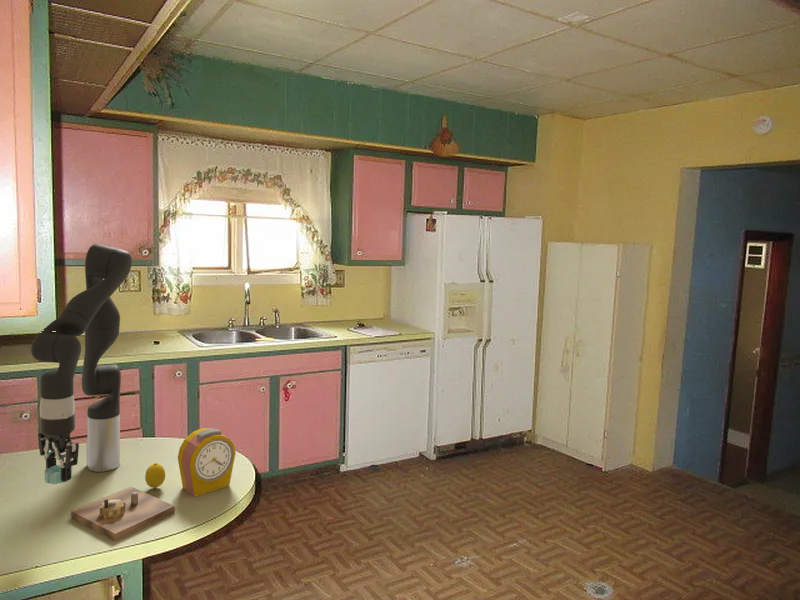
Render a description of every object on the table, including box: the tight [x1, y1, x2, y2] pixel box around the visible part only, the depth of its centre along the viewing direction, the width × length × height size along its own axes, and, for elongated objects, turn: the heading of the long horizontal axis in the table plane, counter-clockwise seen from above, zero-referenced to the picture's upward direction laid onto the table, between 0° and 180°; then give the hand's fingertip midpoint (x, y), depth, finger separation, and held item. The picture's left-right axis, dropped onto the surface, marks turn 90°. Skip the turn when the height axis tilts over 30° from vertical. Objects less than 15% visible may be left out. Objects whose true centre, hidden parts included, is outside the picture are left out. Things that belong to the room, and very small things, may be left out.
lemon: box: [144, 462, 166, 489], centre depth 177 cm, size 6×6×8 cm
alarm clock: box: [177, 427, 236, 497], centre depth 180 cm, size 15×8×18 cm, turn 137°
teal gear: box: [44, 463, 73, 485], centre depth 149 cm, size 6×6×2 cm
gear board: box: [70, 486, 176, 542], centre depth 161 cm, size 19×18×6 cm
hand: (58, 476), depth 149 cm, fingers closed on teal gear, 6 cm apart
